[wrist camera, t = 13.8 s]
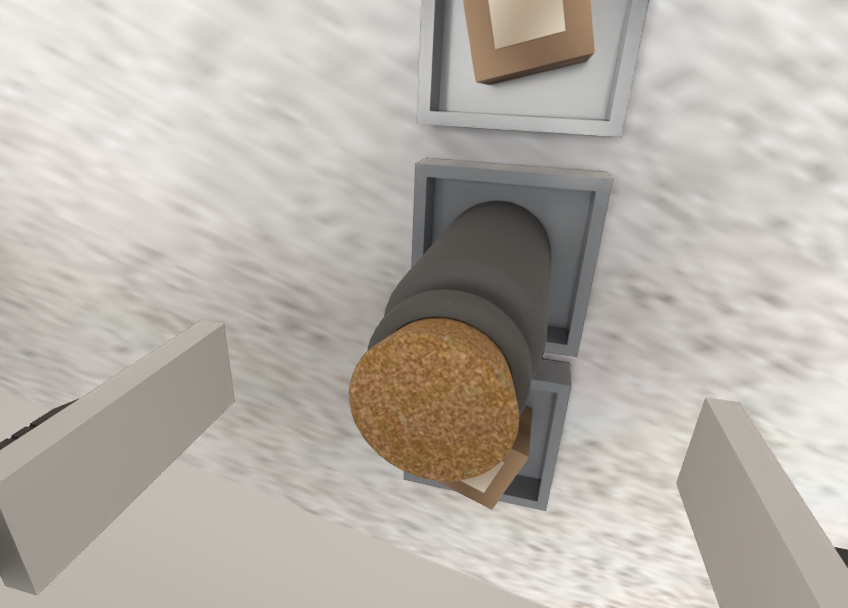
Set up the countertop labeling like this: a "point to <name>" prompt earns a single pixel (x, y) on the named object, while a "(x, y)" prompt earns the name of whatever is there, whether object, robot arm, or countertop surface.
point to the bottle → (458, 347)
